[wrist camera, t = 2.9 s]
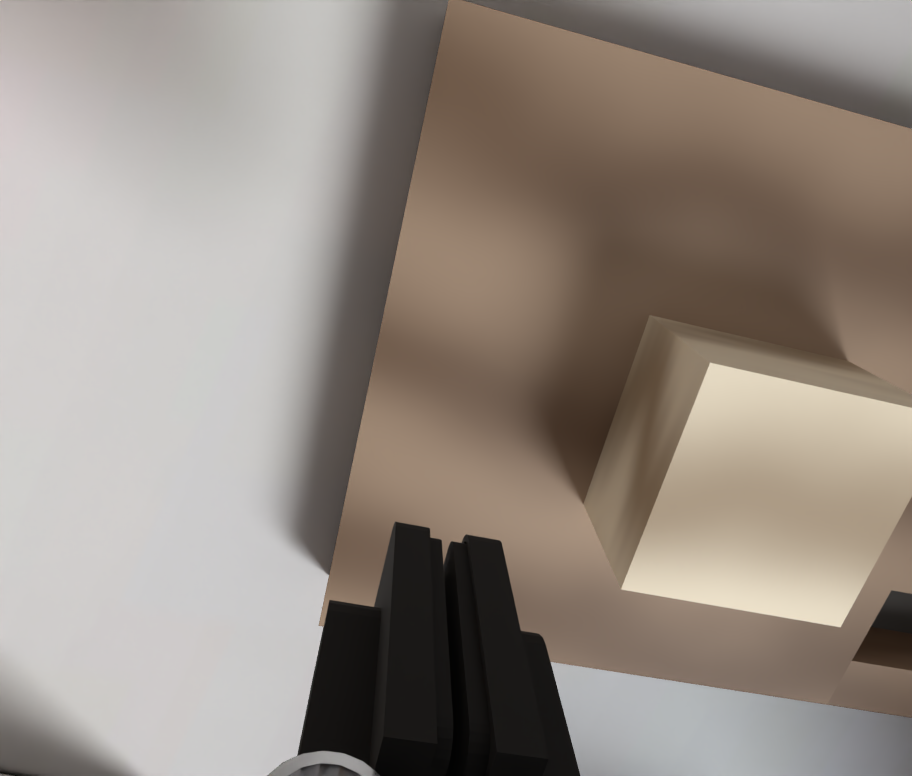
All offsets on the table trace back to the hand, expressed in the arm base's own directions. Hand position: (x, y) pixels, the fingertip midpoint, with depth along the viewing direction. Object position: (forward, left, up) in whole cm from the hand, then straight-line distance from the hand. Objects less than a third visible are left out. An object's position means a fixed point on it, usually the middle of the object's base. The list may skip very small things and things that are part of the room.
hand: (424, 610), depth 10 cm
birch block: (-1, +8, -9) cm, 12 cm away
